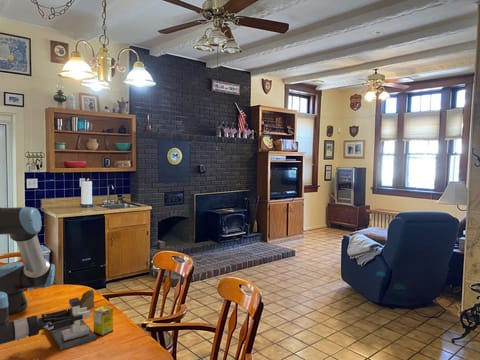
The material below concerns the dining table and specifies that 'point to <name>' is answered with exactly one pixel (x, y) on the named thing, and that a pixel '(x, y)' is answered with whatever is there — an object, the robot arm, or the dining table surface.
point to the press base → (72, 342)
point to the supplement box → (103, 320)
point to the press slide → (75, 328)
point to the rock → (87, 299)
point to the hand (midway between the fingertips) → (88, 312)
